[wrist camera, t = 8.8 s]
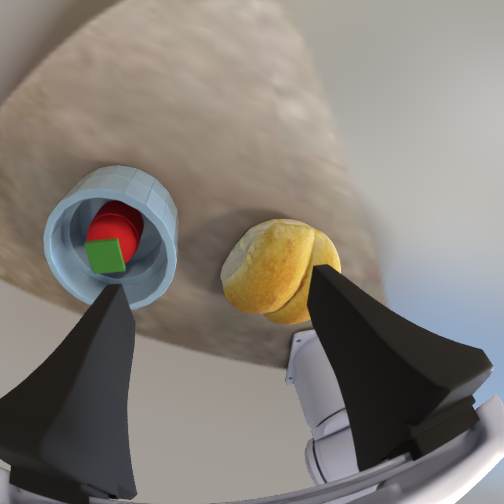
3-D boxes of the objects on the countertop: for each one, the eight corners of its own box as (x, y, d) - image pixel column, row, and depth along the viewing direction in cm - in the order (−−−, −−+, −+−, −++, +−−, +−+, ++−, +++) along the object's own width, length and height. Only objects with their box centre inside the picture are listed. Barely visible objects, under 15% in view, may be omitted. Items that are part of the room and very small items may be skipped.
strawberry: (147, 243, 19) (139, 280, 16) (102, 247, 18) (86, 284, 15) (139, 196, 17) (126, 227, 14) (91, 203, 16) (69, 234, 13)
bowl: (185, 263, 21) (184, 306, 17) (86, 272, 20) (70, 313, 16) (172, 155, 16) (165, 179, 13) (58, 174, 15) (26, 201, 12)
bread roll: (292, 316, 26) (304, 350, 23) (205, 281, 22) (208, 319, 19) (353, 249, 23) (376, 279, 20) (268, 194, 19) (285, 222, 16)
